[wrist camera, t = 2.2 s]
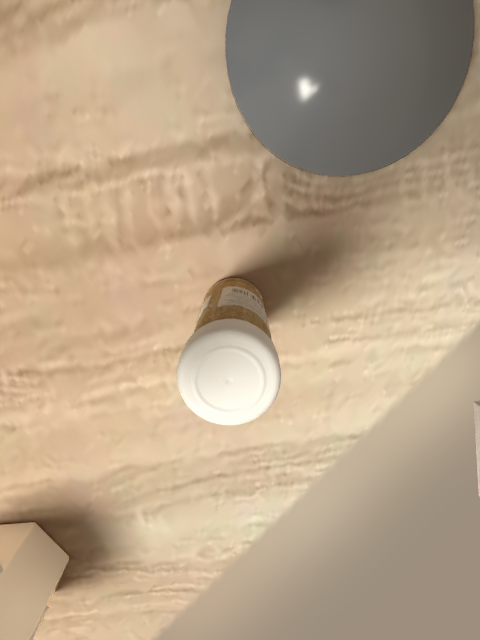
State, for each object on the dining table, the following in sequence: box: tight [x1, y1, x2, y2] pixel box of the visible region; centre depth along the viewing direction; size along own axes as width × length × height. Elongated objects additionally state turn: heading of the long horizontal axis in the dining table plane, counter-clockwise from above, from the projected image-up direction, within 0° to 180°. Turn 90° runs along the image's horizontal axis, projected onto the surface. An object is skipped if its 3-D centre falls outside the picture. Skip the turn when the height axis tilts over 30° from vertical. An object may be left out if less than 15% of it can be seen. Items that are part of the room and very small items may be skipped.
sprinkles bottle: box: [177, 278, 281, 425], centre depth 24 cm, size 5×5×13 cm
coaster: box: [226, 0, 474, 177], centre depth 26 cm, size 15×15×1 cm
